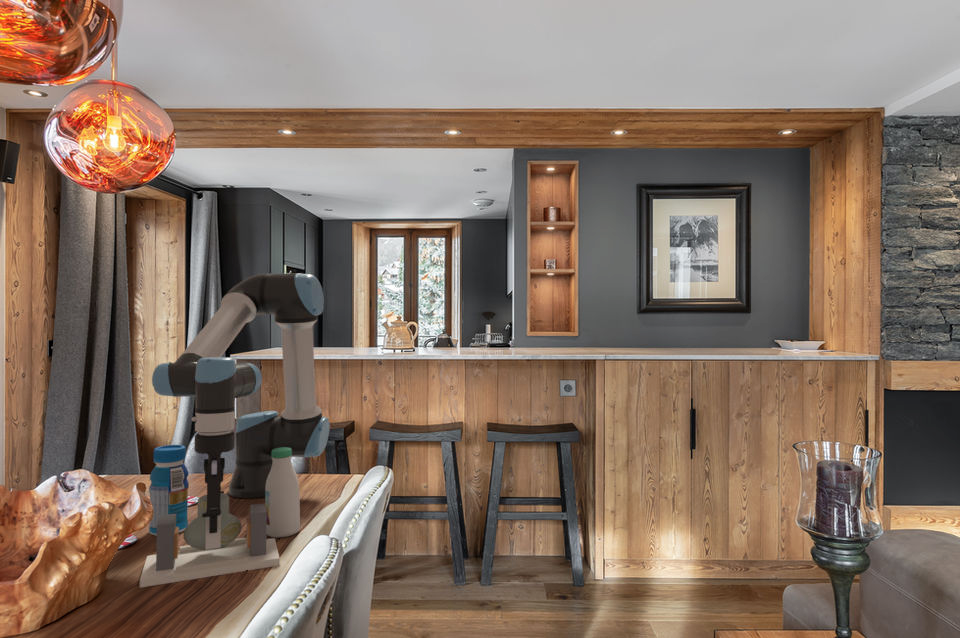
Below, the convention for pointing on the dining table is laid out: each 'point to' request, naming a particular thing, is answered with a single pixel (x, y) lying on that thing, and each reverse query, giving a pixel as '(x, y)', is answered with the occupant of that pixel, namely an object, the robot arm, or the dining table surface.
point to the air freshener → (197, 527)
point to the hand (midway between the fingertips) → (213, 537)
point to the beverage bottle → (169, 486)
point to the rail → (208, 553)
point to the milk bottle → (282, 496)
